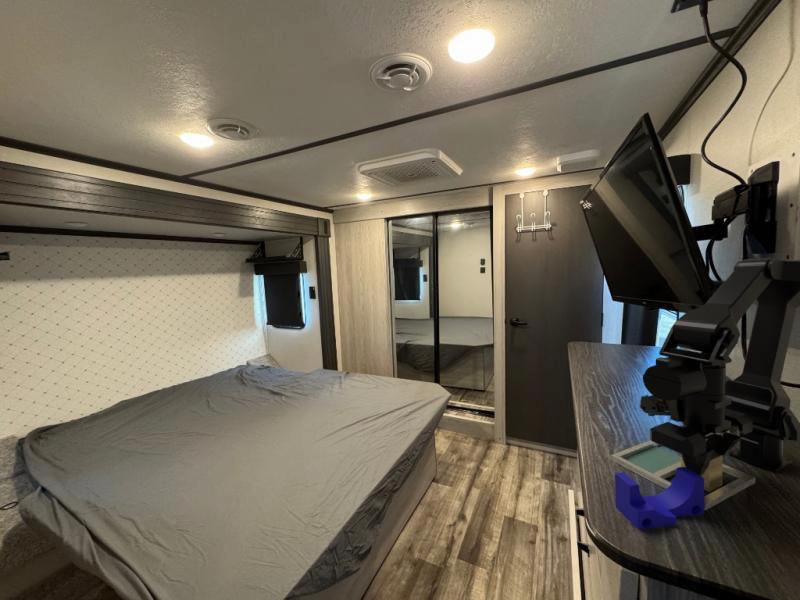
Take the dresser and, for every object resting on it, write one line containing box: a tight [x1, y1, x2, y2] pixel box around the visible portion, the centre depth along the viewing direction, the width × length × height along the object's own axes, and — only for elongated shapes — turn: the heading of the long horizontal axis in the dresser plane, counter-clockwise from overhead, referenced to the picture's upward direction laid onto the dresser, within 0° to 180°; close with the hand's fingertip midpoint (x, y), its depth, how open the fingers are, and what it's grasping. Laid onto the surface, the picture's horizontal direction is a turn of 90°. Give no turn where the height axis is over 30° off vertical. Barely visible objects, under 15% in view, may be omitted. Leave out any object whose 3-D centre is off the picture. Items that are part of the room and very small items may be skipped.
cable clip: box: [614, 467, 705, 530], centre depth 48 cm, size 12×4×6 cm, turn 93°
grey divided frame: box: [610, 439, 756, 511], centre depth 58 cm, size 15×15×1 cm
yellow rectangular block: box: [680, 452, 724, 493], centre depth 55 cm, size 4×4×6 cm
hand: (701, 474), depth 55 cm, fingers closed on yellow rectangular block, 4 cm apart
